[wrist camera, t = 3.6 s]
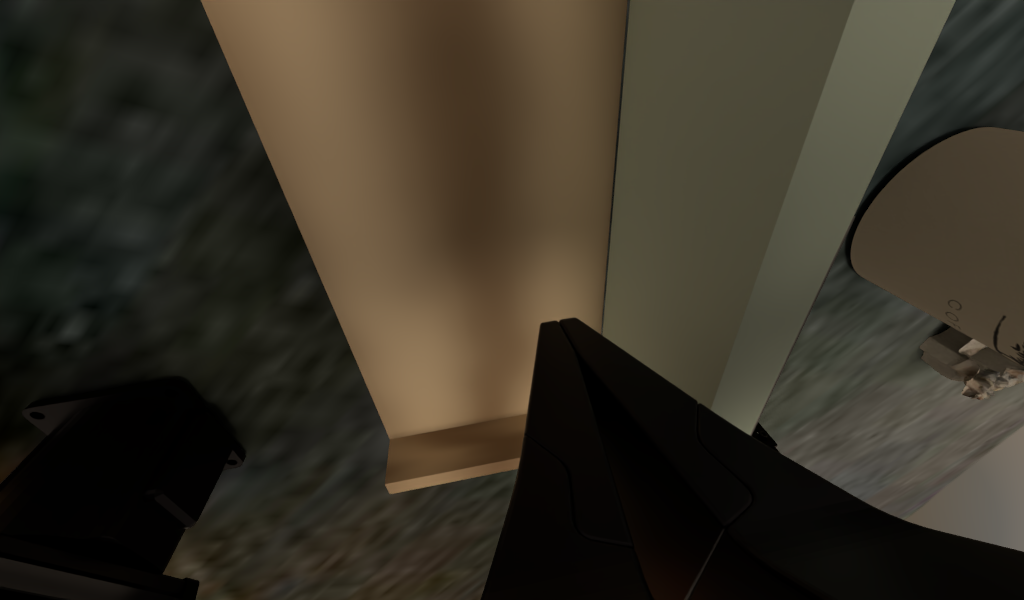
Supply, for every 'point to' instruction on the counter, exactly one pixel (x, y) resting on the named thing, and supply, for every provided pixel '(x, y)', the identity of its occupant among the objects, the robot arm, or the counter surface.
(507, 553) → the robot arm
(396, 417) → the cart bed
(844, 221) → the panel
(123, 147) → the counter surface
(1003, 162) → the travel mug
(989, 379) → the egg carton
